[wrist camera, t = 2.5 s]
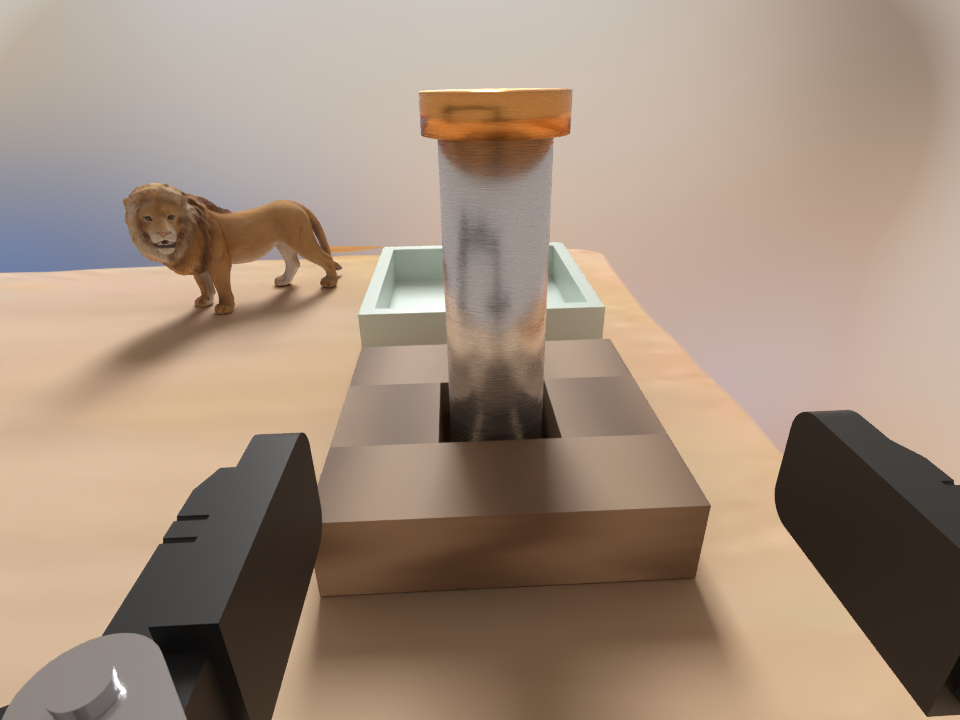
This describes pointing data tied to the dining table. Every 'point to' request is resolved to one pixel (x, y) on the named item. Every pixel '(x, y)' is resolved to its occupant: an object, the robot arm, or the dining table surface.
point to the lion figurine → (222, 238)
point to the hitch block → (503, 483)
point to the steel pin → (495, 250)
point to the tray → (421, 299)
